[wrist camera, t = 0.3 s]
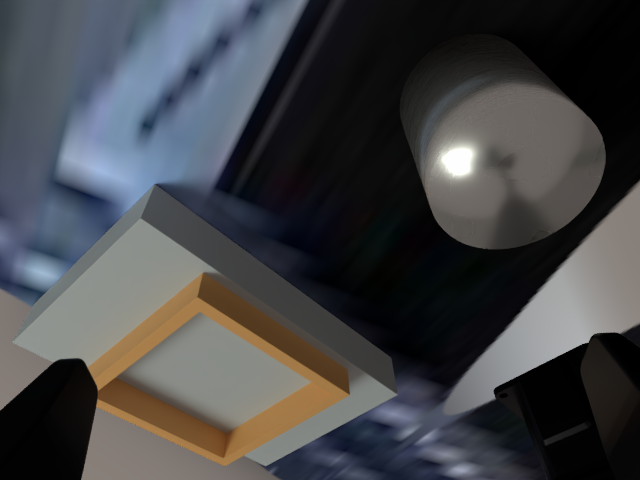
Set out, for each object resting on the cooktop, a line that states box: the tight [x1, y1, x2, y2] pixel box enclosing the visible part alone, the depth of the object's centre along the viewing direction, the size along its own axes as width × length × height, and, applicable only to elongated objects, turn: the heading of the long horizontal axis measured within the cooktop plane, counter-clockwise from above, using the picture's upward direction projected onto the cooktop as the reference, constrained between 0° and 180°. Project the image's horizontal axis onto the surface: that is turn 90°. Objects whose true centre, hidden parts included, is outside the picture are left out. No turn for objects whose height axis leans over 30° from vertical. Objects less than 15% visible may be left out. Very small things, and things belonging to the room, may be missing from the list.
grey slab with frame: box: [12, 185, 398, 466], centre depth 26 cm, size 16×10×4 cm, turn 43°
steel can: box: [400, 33, 605, 249], centre depth 18 cm, size 5×5×6 cm
